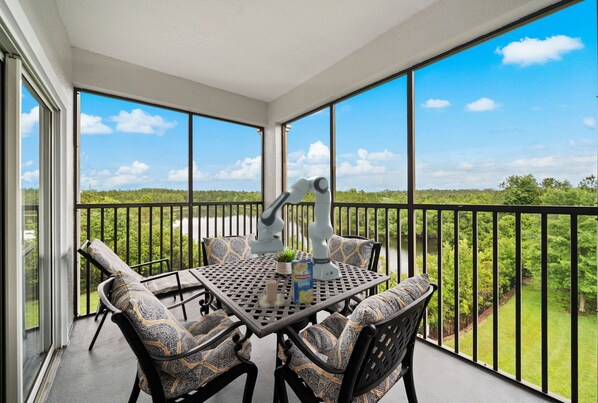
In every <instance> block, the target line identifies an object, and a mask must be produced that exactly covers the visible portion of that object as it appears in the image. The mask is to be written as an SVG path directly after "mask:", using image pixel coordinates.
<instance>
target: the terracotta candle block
mask: <svg viewBox="0 0 598 403" xmlns="http://www.w3.org/2000/svg"><path fill="white" fill-rule="evenodd" d="M277 294H278V281H277V280H276V279H269V280H265V295H266V299H267V302H271V301H277Z"/></svg>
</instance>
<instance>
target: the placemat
mask: <svg viewBox="0 0 598 403" xmlns="http://www.w3.org/2000/svg"><path fill="white" fill-rule="evenodd" d="M257 301H258V305H259V309H260V310H261V309H269V308H274V307H276V306H277V307H284V306H287V302H286V299H285V297H284V295H283V294H282V293H280V292H278V293H277V301H271V302H267V299H266V294H263V295H261V294H260V295H257ZM277 307H276V308H277Z"/></svg>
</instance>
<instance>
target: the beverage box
mask: <svg viewBox="0 0 598 403" xmlns="http://www.w3.org/2000/svg"><path fill="white" fill-rule="evenodd" d="M290 261H291V263H290V264H291V265H290V266H291V267H290V268H291V271H290V272H291V273H290V274H291V277H290V278H291V300H292V302H293V304H295V305H296V304H297V305H298V304H305V303H312V302H314V278H313V262H312V259H298V260H290Z"/></svg>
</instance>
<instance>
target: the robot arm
mask: <svg viewBox="0 0 598 403" xmlns="http://www.w3.org/2000/svg"><path fill="white" fill-rule="evenodd" d="M292 183H293V184H292V185H291V186H290V187H289V189H288V190H285V191H283V192H282V193H280V195H279V196H278V197H276V199H275V200H274V201H273V202H272V204H270V206H268V207H267V208H266V209H265V210H263V212H261V215H260V218H259V219H258V221H257V232H258V239H256V240H255V239H253V240H251V241H249V246H250V254H251V255H256V257H257V258H258V260H259V261H262V260H263V256H262V255H263V254H264V255H266V254H267V255H268V254H275V255H274V259H275V260H278V255H279V253H280V254H281V253H283V252H284V250H285V247H284V244H283V241H282V240H281V236H280V235H276V234H279V233H280V232H282V231H283V230H284V228H285V226H286V225H285V224H286V223H285V221H284V220H283V219H282V218H281V217H280V216H279V215H278V212H279V211H280V209H281V208H282V207H283V205H285V204H287V203H290V204H293V205H295V204H299V203H301V202H302V200H303V198H305V196H306V194H307V192H308V193H314V194H315V202H314V212H313V214H314V216H315V221H312V222H311V223H309V224H308V226H307V230H308V233H309V236H310V240H311V245H312V246H311V248H312V257H311V261H312V262H313V280H319V281H324V282H325V281H326V282H327V281H331V280H335V279H341V278H342V277H343V274H342V273H341V272H340V270H339V268H338V266H337V265H335V264H334V263H333V261H334V259H333V258H332V257H330V256H329V246H328V244H327V241H326V240H330V239H331V238H332V237H333V235H334V228H333V226H332V224H331V217H330V216H331V203H332V194H331V190H330V189H329V188H330V187H329V182H328V179H327V178H326V177H324V176H321V175H320V176H311V177H310V176H309V177H305V176H300V177H298V178H297V179H296V180H295V181H294V182H292Z"/></svg>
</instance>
